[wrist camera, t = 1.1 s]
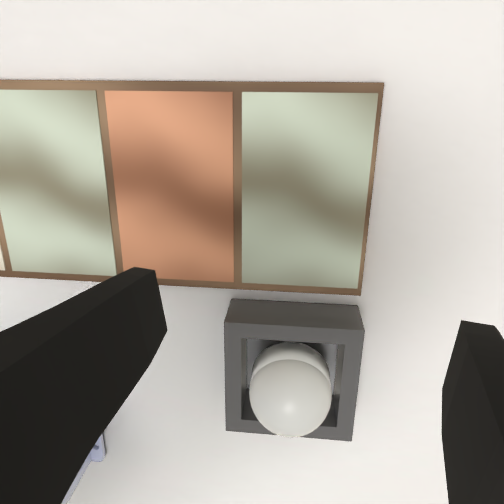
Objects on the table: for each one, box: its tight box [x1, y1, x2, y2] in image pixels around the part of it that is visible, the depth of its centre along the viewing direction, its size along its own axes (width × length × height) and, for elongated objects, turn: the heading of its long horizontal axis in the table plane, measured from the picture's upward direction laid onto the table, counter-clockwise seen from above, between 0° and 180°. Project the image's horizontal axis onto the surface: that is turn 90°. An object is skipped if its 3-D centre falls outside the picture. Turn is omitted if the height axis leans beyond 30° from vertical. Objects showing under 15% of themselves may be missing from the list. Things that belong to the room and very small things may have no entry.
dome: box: [249, 342, 332, 438], centre depth 25 cm, size 5×5×5 cm
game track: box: [0, 80, 384, 296], centre depth 25 cm, size 12×30×1 cm, turn 90°
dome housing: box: [224, 299, 365, 441], centre depth 27 cm, size 8×8×3 cm
